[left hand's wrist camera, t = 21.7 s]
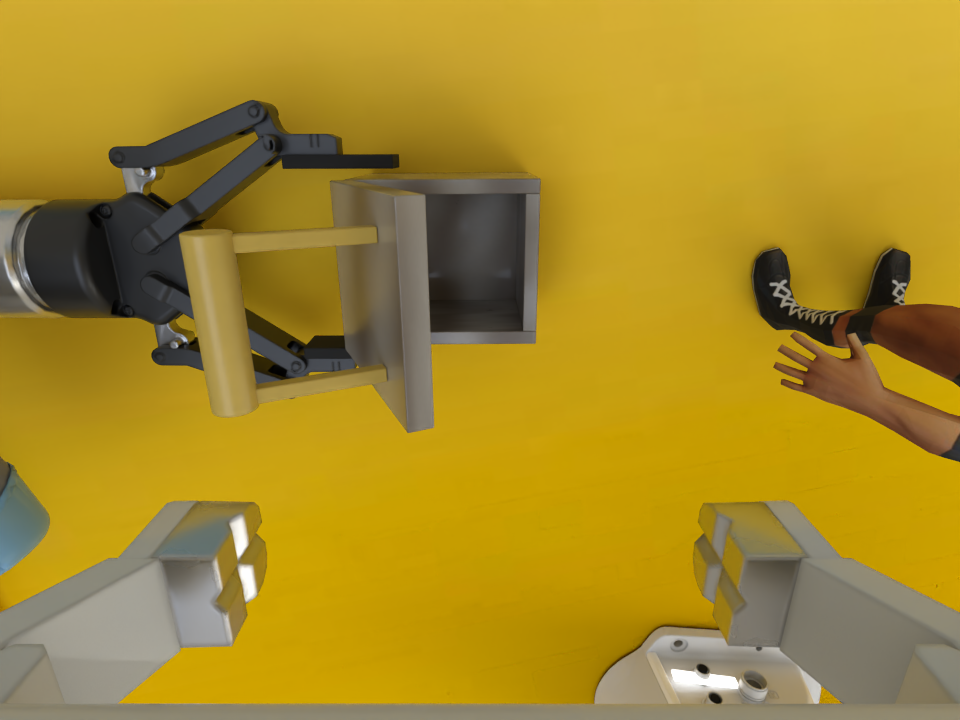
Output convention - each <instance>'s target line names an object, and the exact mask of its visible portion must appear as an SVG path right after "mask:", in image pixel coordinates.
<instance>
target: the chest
mask: <svg viewBox="0 0 960 720" xmlns="http://www.w3.org/2000/svg"><path fill="white" fill-rule="evenodd" d="M346 180H353V181H358V182H363V183H368V184H373V185H378V186H383V187H388V188H394V189H399V190H404V191H409V192H414V193H419V194H424V195H425V202H426V228H427V254H428V281H429V307H430V333H431V344H535V343H536V317H537V283H538V250H539V216H540V194H539V193H540V182H541V180H540V178H538V177H536V176H534V175H532V174H530V173H528V172H513V173H372V174H367V175H363V176H359V177H354V178H350V179H346Z"/></svg>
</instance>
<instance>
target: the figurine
mask: <svg viewBox="0 0 960 720" xmlns="http://www.w3.org/2000/svg"><path fill="white" fill-rule="evenodd" d="M909 281H910V255H909V254H908V253H907V252H904V251H900V250H897V249H893V248H890V249H889V250H887V251H886V252H885V253H883V254H882V255H881V256H880V259H879V261H878V263H877V265H876V267H875V269H874V273H873V276H872V280H871V284H870V288H869V292H868V295H867V298H866V301H865V304H864V307H863V308H862V309H857V310H845V311H822V310H814V309H809V308H805V307H802V306H799V305H798V304H797V303H796V301H795V300H794V297H793V294H792V291H791V288H790V271H789V266H788V262H787V257H786V255H785V254H784V253H783V252H782V250H781V249H780V248H774V249H770V250H766V251H763V252H761V254H760V255H759V256H758V258H757V259H756V260H755V263H754V268H753V272H752V283H753V291H754V295H755V298H756V302H757V306H758V310H759V314H760V315H761V316H762V317H763V318H764V319H765V320H766V321H767V322H768V324H769V325H771V326H772V327H773V328H774V329H776V330H797V331H800V332H804V333H806V334H807V335H808V336H810V337H811V338H813V339H815V340H817V341H819V342H821V343H823V344H825V345H827V346H832V347H838V348H850V351H851V357H850V358H847V359H840V358H837V357H834V356H832V355H830V354H828V353H826V352H824V351H823V350H822V349H820V348H819V347H818V346H816V345H815V344H814V343H812V342H811V341H809V340H808V339H806V338H805V337H803V336H801V335H800V334H798V333H796V332H794V333H793V334H792V335H791V337H792V338H793V339H794V340H795V341H796V342H797V343H799V344H800V345H802V346H803V347H804V348H806V349H807V350H809V351H810V352H812V353H813V354H815V355H816V356H817V357H816V358H815V359H814V361H812V360H810V359H808V358H806V357H804V356H802V355H800V354H799V353H797V352H795V351H793V350H791V349H789V348H788V347H786V346H784V345H781V346H780V348H779V349H778V350H777V351H779V352H781V353H782V354H784V355H785V356H787V357H789V358H790V359H792V360H793V361H795V362H797V363H799V364H801V365H803V366H805V367H807V368H808V370H807V372H805V371H802V370H798V369H796V368H792V367H789V366H786V365H783V364H780V363H777V362H776V363H775V365H774V367H773V368H775V369H777V370H779V371H781V372H783V373H785V374H787V375H790V376H792V377H795V378H798V379H800V380H802V381H803V385H801V384H797V383H794V382H791V381H788V380H785V379H781V385H784V386H786V387H788V388H791V389H793V390H797V391H801V392H804V393H807V394H810V395H812V396H815V397H817V398H819V399H821V400H823V401H826V402H829V403H832V404H835V405H838V406H841V407H844V408H847V409H849V410H852V411H855V412H857V413H860V414H862V415H865V416H867V417H869V418H871V419H873V420H875V421H877V422H878V423H880V424H882V425H884V426H886V427H887V428H889V429H891V430H893V431H895V432H896V433H898V434H899V435H901V436H903V437H904V438H906V439H908V440H909V441H911V442H912V443H914V444H916V445H917V446H919V447H921V448H922V449H924V450H926V451H927V452H929V453H932V454H935V455H938V456H941V457H944V458H948V459H951V460H955V461H959V462H960V416H956V415H953V414H949V413H946V412H944V411H941V410H939V409H936V408H934V407H932V406H929V405H927V404H924V403H922V402H919V401H917V400H914V399H912V398H909V397H907V396H904V395H902V394H899V393H897V392H894V391H891V390H889V389H887V388H885V387H884V386H883V384H882V381H881V379H880V377H879V374H878V372H877V370H876V368H875V366H874V364H873V362H872V361H871V359H870V357H869V355H868V353H867V351H866V350H865V348H864V347H863V346H864V345H866V344H868V343H872V344H878V345H880V346H882V347H884V348H886V349H888V350H889V351H891V352H893V353H895V354H896V355H898V356H900V357H902V358H904V359H906V360H909V361H911V362H913V363H915V364H917V365H919V366H922V367H924V368H926V369H928V370H930V371H932V372H934V373H936V374H938V375H940V376H942V377H944V378H946V379H948V380H950V381H952V382H954V383H955V384H957V385H958V386H959V387H960V308H957V307H953V306H945V305H933V304H915V305H905V303H904V294H905V290H906V288H907V286H908V284H909Z"/></svg>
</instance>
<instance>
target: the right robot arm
mask: <svg viewBox="0 0 960 720" xmlns="http://www.w3.org/2000/svg"><path fill="white" fill-rule="evenodd" d="M278 115H279V114H278V110H277V109H276V107H275V106H273V105H272V104H269V103H265V102H260V101H255V100H251V101H247V102H245V103H243V104H241V105H238V106H236V107H234V108H231V109H229V110H227V111H225V112H222V113H220V114H218V115H215V116H213V117H211V118H209V119H206V120H204V121H202V122H199V123H197V124H195V125H193V126H190V127H188V128H186V129H183V130H181V131H179V132H177V133H174V134H172V135H170V136H167V137H165V138H163V139H161V140H158V141H156V142H154V143H151V144H149V145H147V146H123V147H113V148H112V149H111V150H110V152H109V159H110V161H111V163H112V164H113V165H114V166H116V167H118V168H121V169H122V173H123V178H124V182H125V187H126V191H127V193H126V194H125V195H123V196H122V197H120V198H118V199H71V200H53V201H47V200H0V318H62V317H70V318H139V319H143V320H145V321H147V322H149V323H151V324H154V327H155V332H156V337H157V342H158V348H156V349H155V350H153V352H152V359H153V361H154V362H155V363H157V364H158V365H187V366H190V367H193V368H196V369H200V370H203V371H204V368H203V362H202V357H201V352H200V346H199V341H198V337H195V334H194V332H193V331H188V330H185V329H182V328H180V327H179V326H178V325H177V323H176V320H175V319H177V318H178V317H180V316H181V315H182V314H183V313H184V314H185V315H187V316H189V317H190V318H192V319H194V314H193V309H192V304H191V299H190V293H189V288H188V283H187V277H186V272H185V267H184V261H183V256H182V251H181V245H180V240H179V234H180V233H182V232H186V231H192V230H202V229H203V228H202V226H201V225H202V224H203V223H205V222H206V221H207V220H208V219H210V218H211V217H212V216H213V215H215V214H216V213H217V211H218V210H219V209H220V208H221V207H223V206H224V205H225V204H226V203H228V202H229V201H230V200H231V199H233V198H234V197H235V196H236V195H238V194H239V193H240V192H241V191H243V190H244V189H245V188H246V187H248V186H249V185H250V184H252V183H253V182H254V181H255V180H257V179H258V178H259V177H260V176H262V175H263V174H264V173H265V172H267V171H268V170H269V169H270V168H272V167H273V166H274V165H275V164H277V163H278V162H279V161H281V160H282V166H283V169H355V168H397V167H399V154H362V155H343V151H342V139H341V138H340V137H338V136H335V135H333V134H290V133H288V132H287V131H285V129H284V128H283V127H282V125H281V123H280V120H279V118H278ZM253 132H256V134H257V136H258V138H259V139H258V140H257V141H255V142H254V143H253V144H252V145H251V146H249V147H248V148H247V149H246V150H244V151H243V152H242V153H241V154H239V155H238V156H237V157H236V158H235V159H233V160H232V161H231V162H230V163H228V164H227V165H226V166H225V167H223V168H222V169H221V170H220V171H218V172H217V173H216V174H215V175H214V176H212V177H211V178H210V179H209V180H207V181H206V182H205V183H204V184H202V185H201V186H200V187H199V188H198V189H196V190H195V191H194V192H193V193H191V194H190V195H189V196H188V197H186V198H185V199H183V200H181V201H179V202H177V203H176V204H175V205H173V206H172V205H171V204H169V203H168V202H166V201H165V200H163V199H162V198H160V197H159V196H157V195H156V194H154V193H152V192H151V190H150V188H151V185H152V183H153V182H155V181H158V180H160V179H161V178H162V177H163V175H164V173H165V170H164V168H163V167H166V166H173V165H178V164H180V163H183V162H186V161H188V160H190V159H193V158H195V157H197V156H200V155H202V154H204V153H207V152H209V151H211V150H214V149H216V148H218V147H221V146H223V145H225V144H228V143H230V142H232V141H235V140H237V139H239V138H242V137H244V136H246V135H249V134H251V133H253ZM244 308H245V307H244ZM245 314H246V321H247V327H248V334H249V340H250V347H251V349H252V350H254V351H256V352H257V353H259V354H261V355H262V356H264V357H262V356H259V355H256V354H253V353H252V359H253V366H254V372H255V379H256V384H260V383H267V382H273V381H279V380H285V379H292V378H298V377H304V376H308V375H309V373H310V372H333V371H334V372H336V371H342V370H348V369H354V368H356V367H357V364H356V363H355V361H354V360H353V359H352V357H351V356H350V355H349V353H348V352H347V350H346V349H345V338H344V336H314V337H313V338H312V340H311V341H310V342H309V343H308V344H307V345H306V344H304V343H303V342H301V341H299V340H298V339H296V338H294V337H293V336H291V335H289V334H288V333H286V332H285V331H283V330H281V329H280V328H278V327H276V326H275V325H273V324H271V323H270V322H268V321H266V320H265V319H263V318H261V317H260V316H258V315H256V314H255V313H253V312H251V311H250V310H248V309H246V308H245ZM265 357H266V358H265ZM289 399H293V398H289ZM49 524H50V518H49V514H48V512H47V511H46V509H45V508H44V507H43V506H42V504H41V503H40V502H39V501H38V499H37V498H36V497H35V496H34V494H33V493H32V492H31V490H30V489H29V488H28V487H27V485H26V484H25V483H24V482H23V480H22V479H21V478H20V476H19V475H18V474H17V471H16V470H15V467H14V466H13V465H11V464H10V463H8V462H5V461H4V460H3V459H2V458H1V457H0V575H1V574H3V573H4V572H6V571H8V570H9V569H11V568H12V567H13V566H15V565H16V564H17V563H18V562H19V561H21V560H22V559H23V558H24V557H25V556H27V555H28V554H29V553H30V552H31V551H32V550H33V549H34V548H35V547H36V546H37V545H38V544H39V543H40V542H41V540H42V539H43V538H44V536H45V535H46V533H47V531H48V529H49Z"/></svg>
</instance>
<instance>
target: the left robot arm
mask: <svg viewBox="0 0 960 720" xmlns="http://www.w3.org/2000/svg"><path fill="white" fill-rule="evenodd" d="M261 523H262V520H261V515H260V510H259V506H258V505H257V504H256V503H254V502H225V501H200V502H199V501H173V502H169V503H167V504H166V505H165V506H164V507H163V508H162V509H161V510H160V512H159V513H158V514H157V515H156V516H155V517H154V518H153V519H152V521H151V522H150V523H149V524H148V525H147V526H146V527H145V528H144V529H143V531H142V532H141V533H140V534H139V535H138V536H137V537H136V538H135V540H134V541H133V542H132V543H131V544H130V545H129V546H128V547H127V549H126V550H125V551H124V552H123V553H122V554H121V555H120V556H119V558H108V559H106V560H104V561H102V562H100V563H98V564H96V565H94V566H92V567H90V568H88V569H86V570H84V571H82V572H80V573H78V574H76V575H74V576H72V577H70V578H68V579H66V580H64V581H62V582H60V583H58V584H56V585H54V586H52V587H50V588H48V589H46V590H44V591H42V592H40V593H38V594H36V595H34V596H32V597H30V598H28V599H26V600H24V601H22V602H20V603H18V604H16V605H14V606H12V607H10V608H8V609H6V610H4V611H2V612H0V720H960V613H959V612H957V611H955V610H953V609H951V608H949V607H947V606H945V605H943V604H941V603H939V602H937V601H935V600H933V599H931V598H929V597H927V596H925V595H923V594H921V593H919V592H917V591H915V590H913V589H911V588H909V587H907V586H905V585H903V584H901V583H899V582H897V581H895V580H893V579H891V578H889V577H887V576H885V575H883V574H881V573H879V572H878V571H876V570H874V569H872V568H870V567H868V566H866V565H864V564H862V563H860V562H858V561H856V560H854V559H852V558H841V556H840V555H839V554H838V553H837V552H836V551H835V550H834V549H833V547H832V546H831V545H830V544H829V543H828V542H827V541H826V540H825V538H824V537H823V536H822V535H821V534H820V533H819V532H818V531H817V530H816V528H815V527H814V526H813V525H812V524H811V523H810V522H809V521H808V519H807V518H806V517H805V516H804V515H803V514H802V513H801V512H800V510H799V509H798V508H797V507H796V506H795V505H794V504H793V503H791V502H789V501H787V500H786V501H759V502H726V503H703V505H702V507H701V509H700V514H699V519H698V523H699V525H700V526H701V528H702V530H703V532H704V534H703V535H702V536H701V537H700V538H699V539H698V540H697V541H696V542H695V545H694V553H693V565H694V574H695V578H696V581H697V584H698V587H699V589H700V591H701V593H702V595H703V596H704V597H705V598H707V599H708V600H710V601H711V602H712V603H714V610H713V617H714V619H715V621H716V623H717V625H718V627H719V629H720V630H708V629H694V628H679V627H661V628H658V629H657V630H655V631H654V632H653V633H652V634H651V635H650V636H649V637H648V638H647V640H646V641H645V642H644V643H643V645H642V646H641V647H640V648H639V649H637V650H636V651H634V652H633V653H631V654H629V655H628V656H626V657H624V658H623V659H621V660H620V661H618V662H617V663H616V664H615V665H613V666H612V667H611V668H610V669H609V670H608V671H607V672H606V674H605V675H604V676H603V678H602V679H601V681H600V683H599V685H598V687H597V690H596V693H595V699H594V704H117V703H118V702H120V701H121V700H122V699H123V698H124V697H126V696H127V695H128V694H129V693H130V692H132V691H133V690H134V689H135V688H136V687H138V686H139V685H140V684H141V683H142V682H143V681H145V680H146V679H147V678H148V677H149V676H151V675H152V674H153V673H154V672H155V671H157V670H158V669H159V668H160V667H161V666H163V665H164V664H165V663H166V662H167V661H169V660H170V659H171V658H172V657H173V656H174V655H176V654H177V653H178V652H179V651H180V650H181V649H180V648H184V647H218V646H232V645H233V643H234V641H235V639H236V637H237V635H238V633H239V631H240V629H241V627H242V625H243V623H244V621H245V619H246V617H247V609H246V603H248V602H249V601H250V600H252V599H253V598H255V597H256V596H257V595H258V593H259V591H260V589H261V587H262V584H263V581H264V577H265V572H266V568H267V551H266V544H265V542H264V541H263V540H262V539H261V538H260V537H259V536H258V535H257V534H256V532H257V530H258V528H259V526H260V525H261ZM821 686H823V687H824V688H825V689H826V690H827V691H829V692H830V693H831V694H832V695H833V696H835V697H836V698H837V699H838V700H839V701H840V702H842V703H843V704H819V699H820V693H821Z"/></svg>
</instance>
